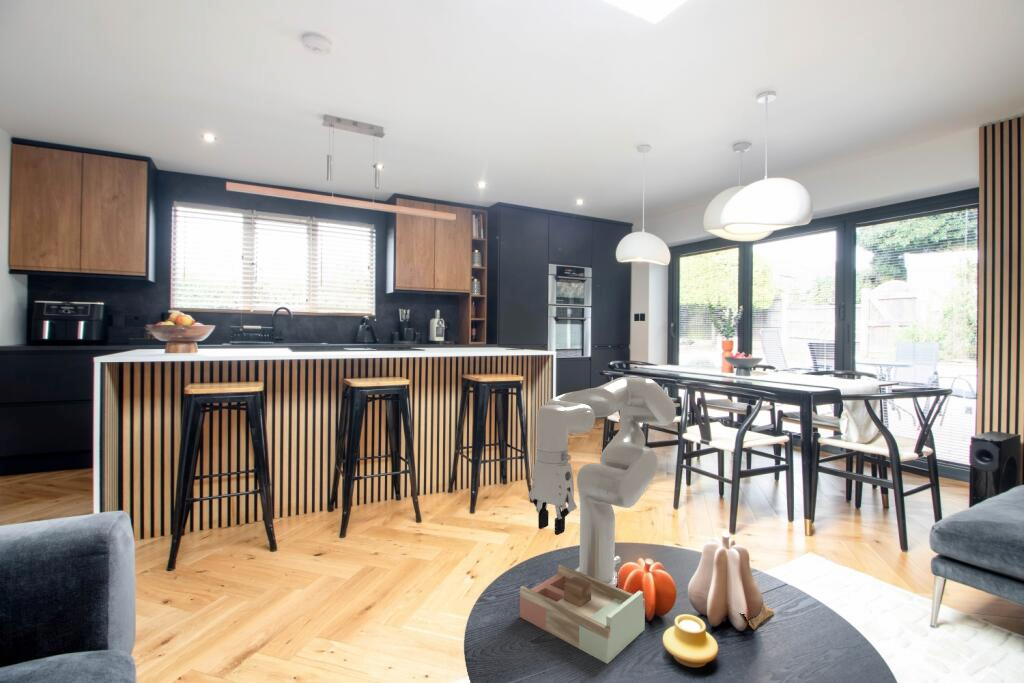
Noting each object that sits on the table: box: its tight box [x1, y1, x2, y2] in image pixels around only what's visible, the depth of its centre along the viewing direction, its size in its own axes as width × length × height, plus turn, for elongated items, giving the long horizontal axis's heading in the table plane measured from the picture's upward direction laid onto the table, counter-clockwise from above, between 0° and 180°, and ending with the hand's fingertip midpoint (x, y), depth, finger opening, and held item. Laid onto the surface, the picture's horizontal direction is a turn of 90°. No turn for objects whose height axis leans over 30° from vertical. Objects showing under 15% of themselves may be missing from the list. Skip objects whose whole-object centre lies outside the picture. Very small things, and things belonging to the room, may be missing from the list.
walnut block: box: [564, 576, 591, 607], centre depth 113 cm, size 4×4×4 cm
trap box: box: [519, 564, 646, 665], centre depth 112 cm, size 16×24×9 cm, turn 47°
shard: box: [748, 604, 775, 630], centre depth 116 cm, size 11×8×2 cm
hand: (551, 529), depth 118 cm, fingers open, 4 cm apart
